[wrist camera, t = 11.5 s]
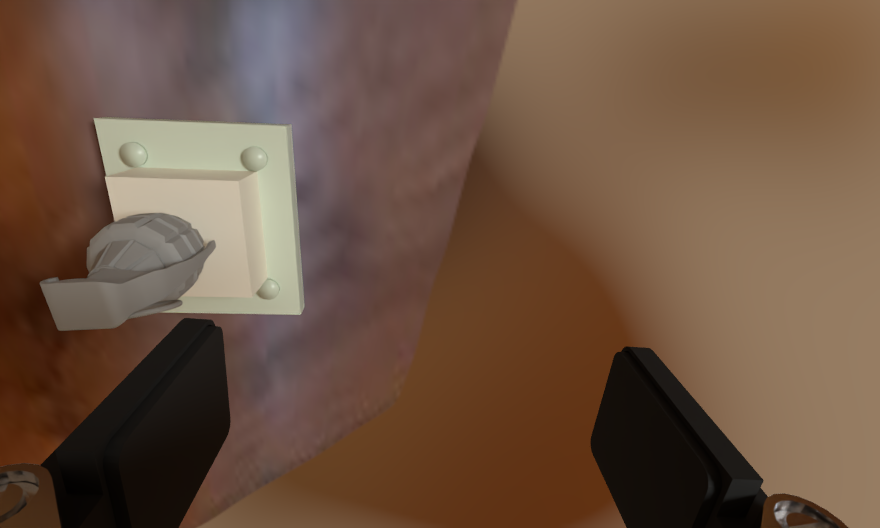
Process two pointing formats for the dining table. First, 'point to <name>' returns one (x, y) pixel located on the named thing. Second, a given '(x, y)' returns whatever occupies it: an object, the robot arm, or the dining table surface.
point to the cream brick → (204, 220)
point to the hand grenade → (130, 273)
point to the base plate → (224, 150)
